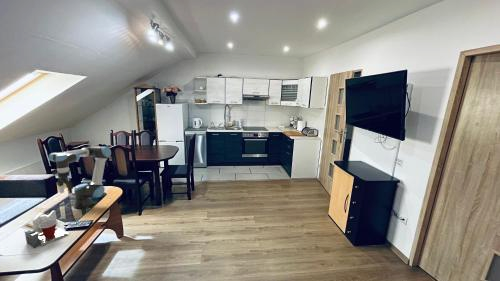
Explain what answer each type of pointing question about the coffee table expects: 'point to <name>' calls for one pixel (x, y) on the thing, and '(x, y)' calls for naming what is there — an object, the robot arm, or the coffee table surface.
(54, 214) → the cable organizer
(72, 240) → the coffee table surface
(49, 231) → the plastic cup
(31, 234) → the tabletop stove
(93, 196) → the robot arm
